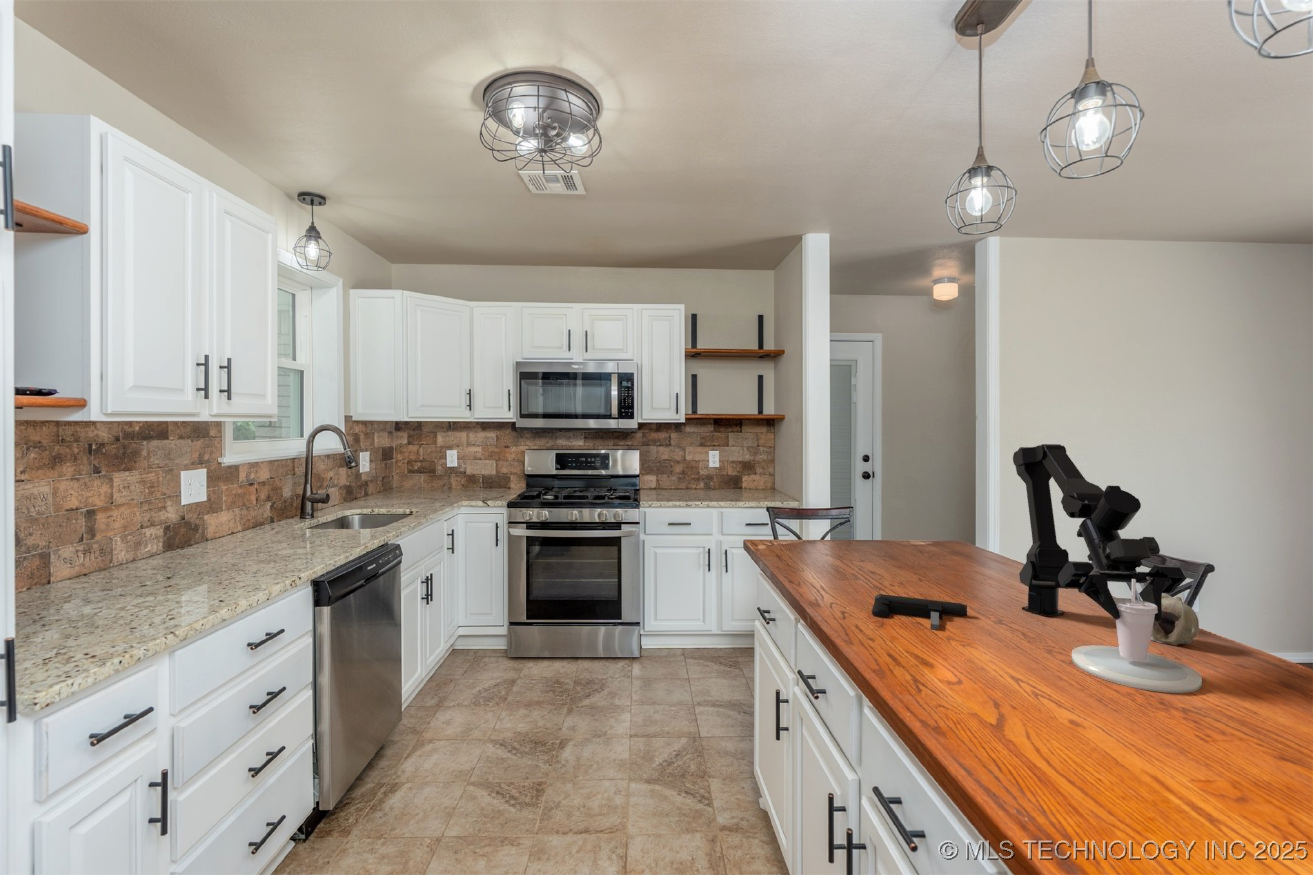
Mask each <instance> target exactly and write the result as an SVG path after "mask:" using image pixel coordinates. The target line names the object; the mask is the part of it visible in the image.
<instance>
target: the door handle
mask: <svg viewBox="0 0 1313 875" xmlns="http://www.w3.org/2000/svg"><path fill="white" fill-rule="evenodd" d="M873 601H874V603H873V606H872V608H871V609H872V610H871V615H873V617H876V618H883V619H885V618H886V619H887V618H888V617H889V616H890V614H891V615H898V616H905V617H907V616H908V617H914V618H922V619H928V620H929V619H930V628H929V629H930V630H932V631H940V621H942V619H943V615H945V616H953V617H967V616H968V604H963V603H962V602H961V603H960V602H955V601H954V602H953V601H944V600H937V599H936V600H935V599H926V598H918V597H908V596H901V595H893V594H892V595H891V594H883V593H879V594H876V595H875V597H874V600H873Z"/></svg>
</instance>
